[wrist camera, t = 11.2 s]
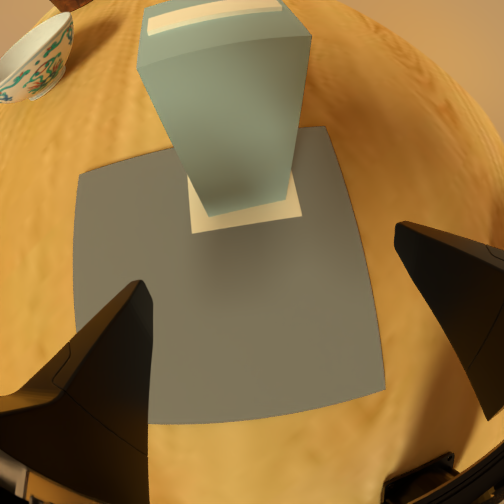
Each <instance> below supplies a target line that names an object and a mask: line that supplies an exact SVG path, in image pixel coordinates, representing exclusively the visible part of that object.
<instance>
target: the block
mask: <svg viewBox="0 0 504 504" xmlns="http://www.w3.org/2000/svg"><path fill="white" fill-rule="evenodd" d="M311 39H312V35H311V34H310V33H309V31H308V30H307V29H306V28H305V27H304V25H303V24H302V23H301V22H300V21H299V19H298V18H297V17H296V16H295V15H294V14H293V13H292V11H291V10H290V9H289V8H288V7H287V6H286V5H285V4H284V3H283V2H282V1H281V0H170V1H167V2H163V3H160V4H156V5H153V6H150V7H147V8H145V9H144V15H143V21H142V27H141V34H140V42H139V50H138V59H137V71H138V73H139V75H140V77H141V79H142V81H143V84H144V86H145V88H146V90H147V92H148V94H149V96H150V99H151V101H152V103H153V105H154V107H155V109H156V111H157V113H158V115H159V118H160V120H161V122H162V124H163V126H164V128H165V130H166V132H167V134H168V136H169V138H170V140H171V142H172V144H173V147H174V149H175V151H176V153H177V155H178V157H179V159H180V161H181V163H182V165H183V167H184V169H185V171H186V173H187V175H188V177H189V179H190V181H191V183H192V185H193V187H194V189H195V191H196V193H197V195H198V197H199V199H200V201H201V203H202V205H203V207H204V209H205V211H206V213H207V215H208V217H212V216H216V215H220V214H225V213H229V212H233V211H237V210H242V209H246V208H250V207H255V206H259V205H264V204H268V203H273V202H277V201H282V200H286V195H287V189H288V184H289V178H290V172H291V167H292V161H293V155H294V149H295V143H296V137H297V131H298V125H299V119H300V113H301V106H302V100H303V94H304V87H305V81H306V74H307V67H308V60H309V53H310V46H311Z"/></svg>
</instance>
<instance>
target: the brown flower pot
mask: <svg viewBox="0 0 504 504" xmlns="http://www.w3.org/2000/svg"><path fill="white" fill-rule="evenodd" d="M50 1H51V2H52V3H53V4H54V5H55V6H56V7H57V8H58V9H59V10H60V11H61V12H62V13H63V12H71V11H74V10H76V9H78V8H80V7H82V6H84V5H86V4H87V3H89V2H91V1H93V0H50Z"/></svg>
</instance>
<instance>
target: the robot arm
mask: <svg viewBox="0 0 504 504" xmlns="http://www.w3.org/2000/svg"><path fill="white" fill-rule="evenodd" d="M394 247H395V250H396V252H397V253H398V255H399V257H400V259H401V260H402V262H403V264H404V266H405V268H406V269H407V271H408V273H409V275H410V277H411V279H412V280H413V282H414V284H415V285H416V287H417V288H418V290H419V291H420V293H421V294H422V296H423V297H424V299H425V301H426V302H427V304H428V305H429V307H430V309H431V310H432V312H433V314H434V315H435V317H436V318H437V320H438V322H439V324H440V325H441V327H442V329H443V330H444V332H445V334H446V336H447V338H448V339H449V341H450V343H451V345H452V347H453V348H454V350H455V352H456V354H457V356H458V358H459V360H460V362H461V364H462V366H463V368H464V370H465V372H466V374H467V376H468V378H469V380H470V382H471V385H472V387H473V389H474V391H475V393H476V396H477V398H478V400H479V403H480V405H481V407H482V410H483V412H484V415H485V417H486V419H487V421H489V420H491V419H492V418H493V417H494V416H496V415H497V414H498V413H499V412H501V411H502V410H503V409H504V250H501V249H498V248H495V247H492V246H489V245H484V244H483V243H480V242H476V241H473V240H470V239H467V238H464V237H461V236H458V235H454V234H451V233H448V232H444V231H441V230H437V229H434V228H430V227H427V226H423V225H420V224H416V223H412V222H409V221H403V222H398V223H397V224H396V226H395V236H394ZM152 351H153V299H152V297H151V295H150V293H149V291H148V288H147V286H146V284H145V282H144V281H143V280H141V279H139V280H135V281H131V282H130V283H129V284H128V285H127V286H126V287H124V288H123V289H122V290H121V291H120V292H119V293H118V294H117V295H116V296H115V297H114V298H113V299H112V300H111V301H109V302H108V303H107V304H106V305H105V306H104V307H103V308H102V309H101V310H100V311H99V312H98V313H97V314H96V315H95V316H94V317H93V318H92V319H91V320H90V321H89V322H88V323H87V324H86V325H85V326H84V327H83V328H82V329H81V330H80V331H79V332H78V333H77V334H76V335H75V336H74V337H73V338H72V339H71V340H70V342H68V343H67V344H66V345H65V346H64V347H63V348H62V349H61V350H60V351H59V352H58V353H57V354H56V355H55V356H54V357H53V358H52V359H51V360H50V361H49V362H48V363H47V364H46V365H45V366H43V367H42V368H41V369H40V370H39V371H38V372H37V373H36V374H35V375H34V376H33V377H32V378H31V379H30V380H29V381H28V382H27V383H26V384H25V385H23V386H22V387H21V388H20V389H19V390H18V391H16V392H15V393H12V394H10V395H6V396H0V504H150V501H149V481H148V457H147V456H148V410H149V390H150V375H151V362H152ZM453 462H454V453H452V452H448V453H446V454H444V455H442V456H440V457H439V458H437V459H435V460H433V461H431V462H429V463H427V464H425V465H423V466H421V467H419V468H416V469H414V470H412V471H410V472H408V473H405V474H403V475H401V476H398V477H396V478H393V479H391V480H388V481H387V482H385V483H384V485H383V491H382V503H380V504H504V440H503V441H502V442H501V443H499V444H498V445H497V446H496V447H495V448H493V449H492V450H491V451H490V452H488V453H487V454H486V455H485V456H483V457H482V458H481V459H479V460H478V461H477V462H475V463H474V464H473V465H471V466H470V467H468V468H467V469H465V470H464V471H463V472H461V473H459V472H458V471H456V470H455V469H453ZM389 485H391V486H389ZM388 486H389V487H388Z"/></svg>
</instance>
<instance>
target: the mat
mask: <svg viewBox="0 0 504 504" xmlns="http://www.w3.org/2000/svg"><path fill="white" fill-rule="evenodd" d="M139 279H141V280H143V281H144V282H145V284H146V286H147V288H148V291H149V293H150V295H151V297H152V299H153V351H152V362H151V375H150V390H149V410H148V424H208V423H223V422H235V421H244V420H253V419H261V418H268V417H275V416H281V415H287V414H292V413H298V412H303V411H308V410H312V409H317V408H321V407H326V406H330V405H334V404H338V403H342V402H346V401H349V400H353V399H356V398H360V397H363V396H367V395H370V394H373V393H376V392H379V391H382V390H385V378H384V368H383V359H382V350H381V343H380V336H379V329H378V322H377V316H376V310H375V305H374V299H373V294H372V289H371V283H370V279H369V274H368V269H367V265H366V260H365V256H364V251H363V247H362V243H361V239H360V235H359V231H358V227H357V224H356V220H355V216H354V213H353V209H352V205H351V202H350V199H349V195H348V192H347V189H346V185H345V182H344V179H343V176H342V173H341V170H340V167H339V164H338V161H337V158H336V155H335V152H334V149H333V146H332V143H331V141H330V138H329V135H328V133H327V130H326V127H325V126H319V127H305V128H298V131H297V137H296V143H295V149H294V155H293V161H292V167H291V172H290V178H289V184H288V189H287V195H286V200H282V201H277V202H273V203H268V204H264V205H259V206H255V207H250V208H246V209H242V210H237V211H233V212H229V213H225V214H220V215H216V216H212V217H208V215H207V213H206V211H205V209H204V207H203V205H202V203H201V201H200V199H199V197H198V195H197V193H196V191H195V189H194V187H193V185H192V183H191V181H190V179H189V177H188V175H187V173H186V171H185V169H184V167H183V165H182V163H181V161H180V159H179V157H178V155H177V153H176V151H175V149H174V148H170V149H166V150H161V151H157V152H153V153H149V154H146V155H142V156H138V157H134V158H131V159H127V160H124V161H120V162H117V163H114V164H110V165H107V166H104V167H101V168H98V169H95V170H92V171H89V172H86V173H83V174H80V175H79V181H78V188H77V197H76V207H75V220H74V237H73V291H74V309H75V321H76V331H77V333H78V332H79V331H80V330H81V329H82V328H83V327H84V326H85V325H86V324H87V323H88V322H89V321H90V320H91V319H92V318H93V317H94V316H95V315H96V314H97V313H98V312H99V311H100V310H101V309H102V308H103V307H104V306H105V305H106V304H107V303H108V302H109V301H111V300H112V299H113V298H114V297H115V296H116V295H117V294H118V293H119V292H120V291H121V290H122V289H123V288H124V287H126V286H127V285H128V284H129V283H130V282H131V281H135V280H139Z"/></svg>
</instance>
